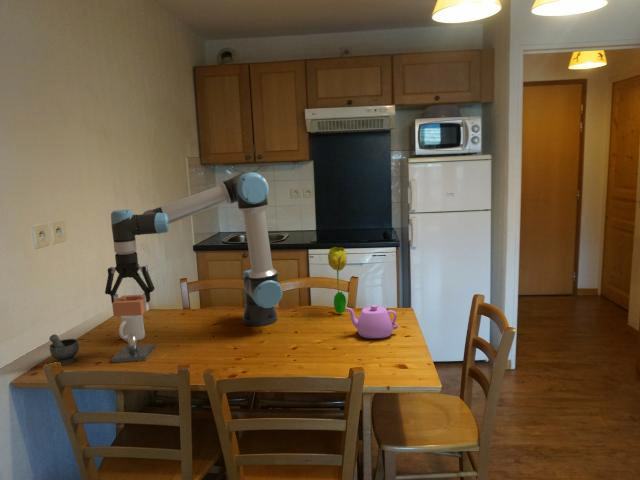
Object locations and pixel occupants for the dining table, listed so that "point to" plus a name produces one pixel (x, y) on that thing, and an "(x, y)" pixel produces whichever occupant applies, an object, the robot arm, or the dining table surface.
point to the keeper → (133, 351)
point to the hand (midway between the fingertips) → (132, 311)
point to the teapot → (374, 322)
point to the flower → (337, 262)
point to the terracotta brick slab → (129, 305)
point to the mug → (132, 327)
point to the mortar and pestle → (63, 349)
